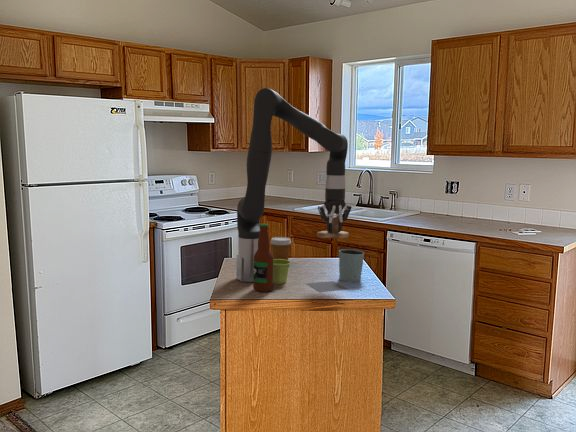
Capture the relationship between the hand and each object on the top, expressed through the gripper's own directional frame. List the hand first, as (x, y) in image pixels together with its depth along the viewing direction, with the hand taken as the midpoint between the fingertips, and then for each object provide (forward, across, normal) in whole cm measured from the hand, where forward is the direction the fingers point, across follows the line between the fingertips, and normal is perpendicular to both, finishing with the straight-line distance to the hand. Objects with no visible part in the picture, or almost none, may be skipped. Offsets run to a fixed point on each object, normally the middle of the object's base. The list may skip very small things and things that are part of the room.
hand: (334, 231), depth 199 cm
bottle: (+21, -27, +3) cm, 35 cm away
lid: (+2, 0, +1) cm, 2 cm away
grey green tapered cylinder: (+22, +11, +6) cm, 25 cm away
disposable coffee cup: (+22, -7, +39) cm, 45 cm away
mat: (+21, -3, -1) cm, 22 cm away
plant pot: (+22, -18, +10) cm, 30 cm away
